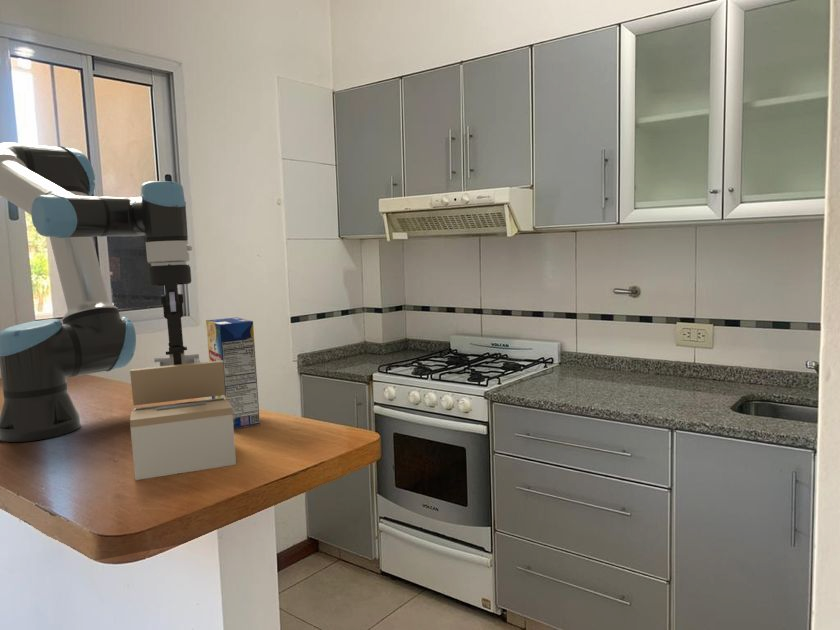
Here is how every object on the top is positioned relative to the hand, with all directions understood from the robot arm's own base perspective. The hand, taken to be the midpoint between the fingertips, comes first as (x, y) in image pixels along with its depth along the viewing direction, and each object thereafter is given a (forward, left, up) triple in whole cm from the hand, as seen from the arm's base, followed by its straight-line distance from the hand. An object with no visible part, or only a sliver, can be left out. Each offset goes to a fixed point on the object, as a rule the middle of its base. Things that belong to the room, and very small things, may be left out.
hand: (179, 385), depth 125 cm
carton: (+12, 0, -11) cm, 16 cm away
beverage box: (-10, +11, -11) cm, 19 cm away
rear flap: (+6, 0, +2) cm, 7 cm away
